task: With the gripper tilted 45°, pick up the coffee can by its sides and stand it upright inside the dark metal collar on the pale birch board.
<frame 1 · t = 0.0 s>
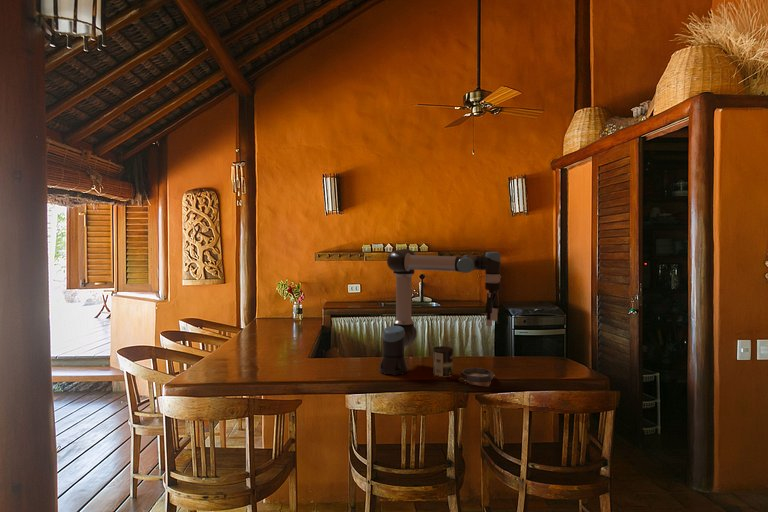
hand: (491, 323, 245), 28 cm above the table, tool pointing down, fingers open, 13 cm apart
collar board: (477, 380, 241), on the table
coffee can: (443, 375, 249), on the table
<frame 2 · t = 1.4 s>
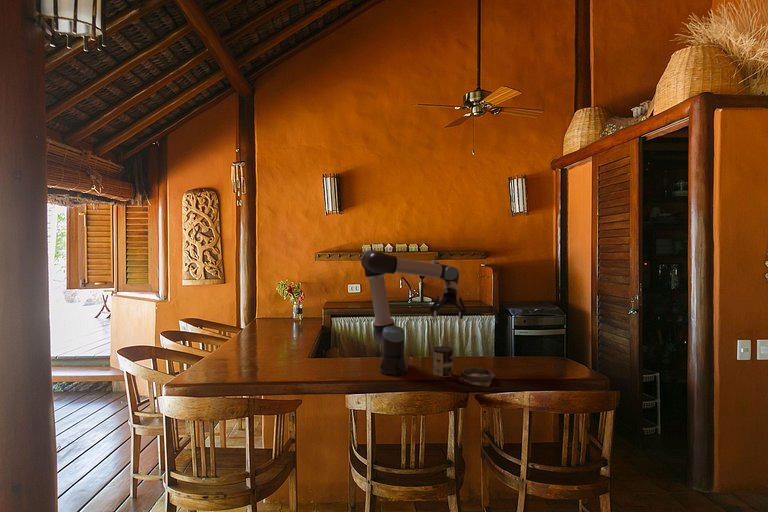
hand: (446, 322, 257), 26 cm above the table, tool tilted 45°, fingers open, 13 cm apart
nothing on the table moved.
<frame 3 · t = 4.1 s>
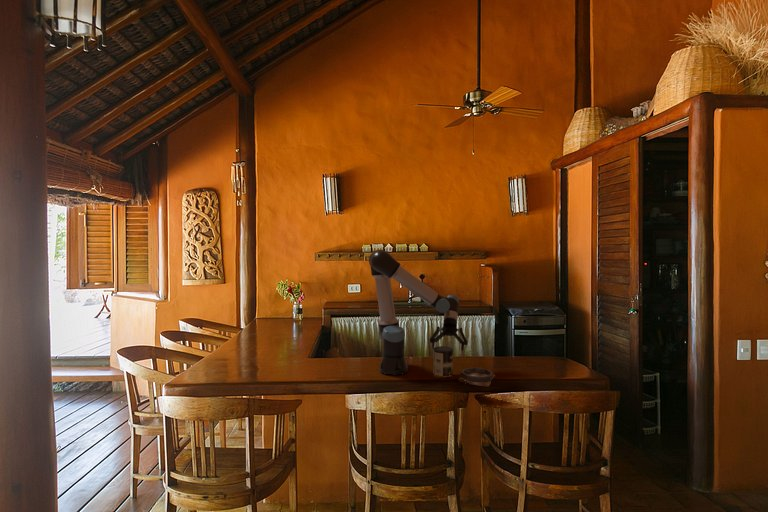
hand: (447, 354, 251), 10 cm above the table, tool tilted 45°, fingers open, 13 cm apart
nothing on the table moved.
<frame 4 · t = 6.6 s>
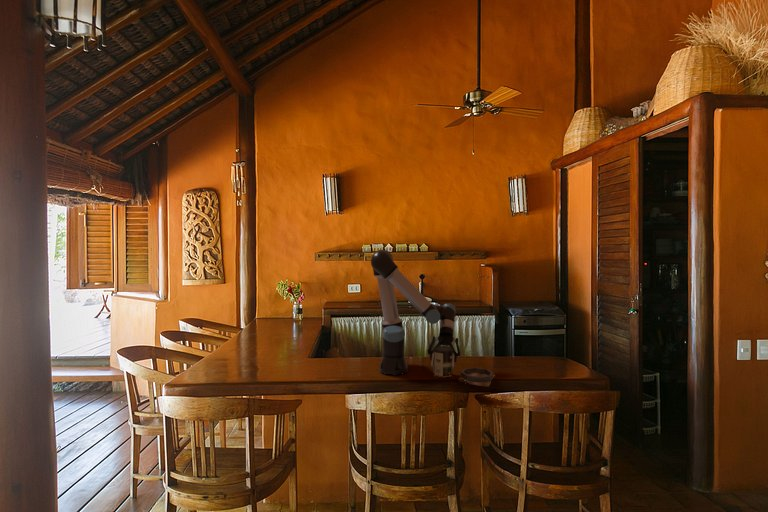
hand: (442, 366, 246), 6 cm above the table, tool tilted 45°, fingers closed on coffee can, 10 cm apart
coffee can: (443, 375, 249), on the table, touching gripper
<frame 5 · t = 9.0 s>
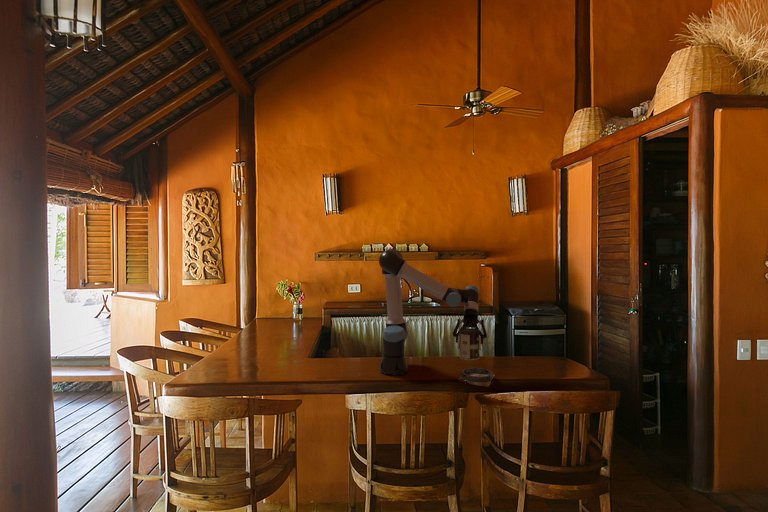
hand: (469, 348, 240), 16 cm above the table, tool tilted 45°, fingers closed on coffee can, 10 cm apart
coffee can: (469, 358, 243), point 11 cm above the table, touching gripper
when the fingers open (8 cm above the table, at t = 11.9 s): coffee can drops 1 cm, resting on collar board.
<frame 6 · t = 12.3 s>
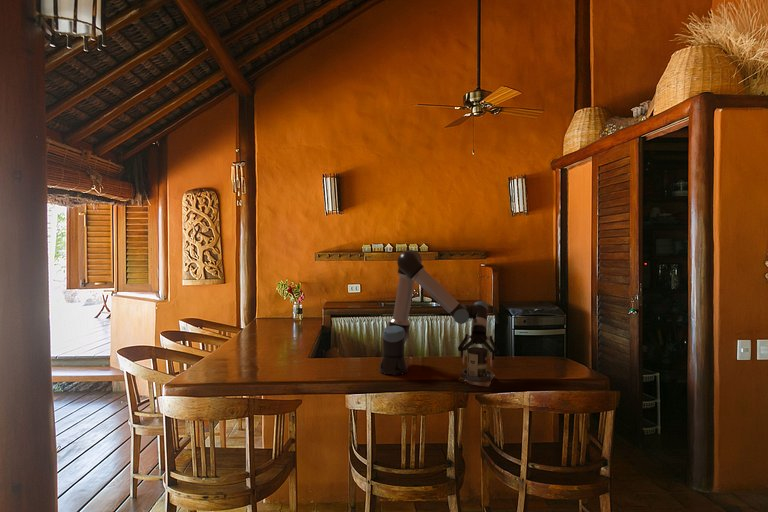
hand: (477, 364, 238), 9 cm above the table, tool tilted 45°, fingers open, 13 cm apart
coffee can: (476, 377, 241), point 1 cm above the table, touching collar board
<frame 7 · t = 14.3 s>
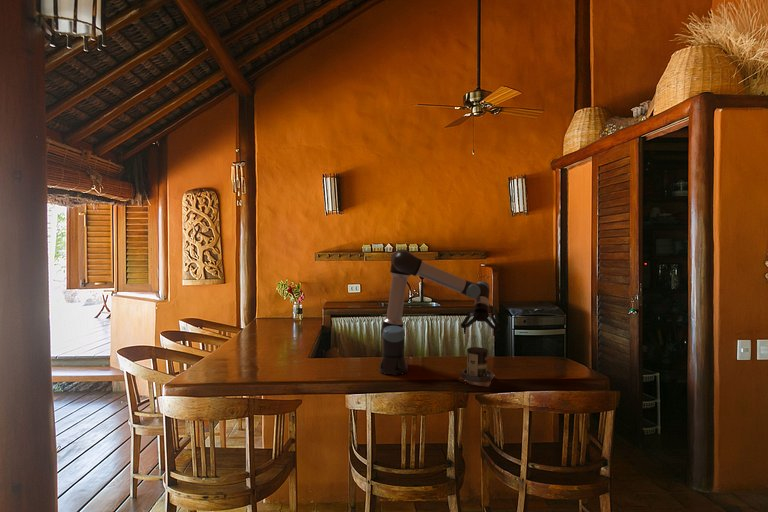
hand: (479, 339, 250), 18 cm above the table, tool tilted 45°, fingers open, 13 cm apart
nothing on the table moved.
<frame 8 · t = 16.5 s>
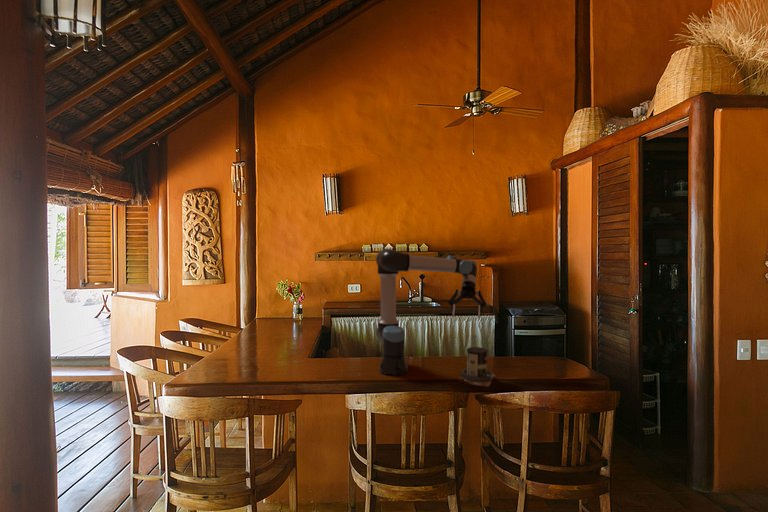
hand: (466, 316, 255), 30 cm above the table, tool tilted 45°, fingers open, 13 cm apart
nothing on the table moved.
at the end: coffee can 0.2 cm off-centre on the collar board, point 1.3 cm above the collar board's base; coffee can tilted 0°; the gripper is holding nothing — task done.
